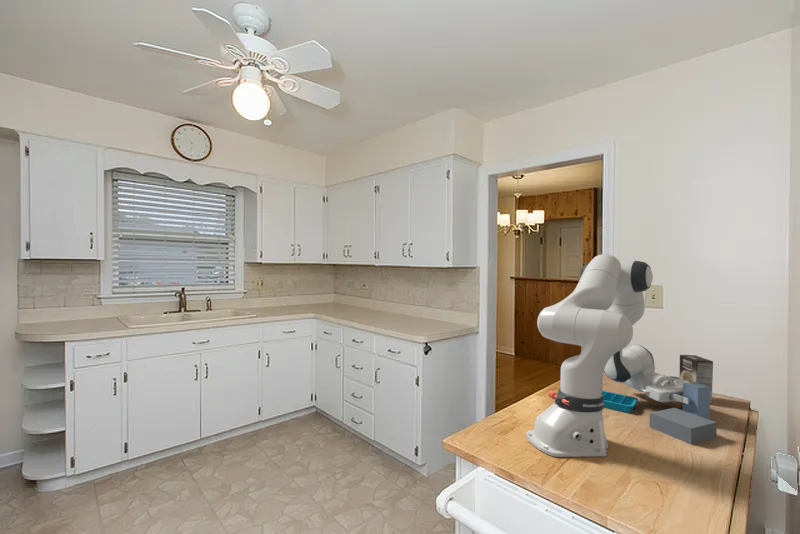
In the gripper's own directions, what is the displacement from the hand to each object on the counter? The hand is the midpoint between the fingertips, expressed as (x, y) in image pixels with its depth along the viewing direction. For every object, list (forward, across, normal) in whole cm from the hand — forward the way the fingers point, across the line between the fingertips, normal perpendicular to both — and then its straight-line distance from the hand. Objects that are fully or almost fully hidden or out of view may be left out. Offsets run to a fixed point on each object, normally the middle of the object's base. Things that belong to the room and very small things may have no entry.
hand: (698, 400), depth 122 cm
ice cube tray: (-21, -18, +8) cm, 29 cm away
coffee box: (-17, +20, +7) cm, 27 cm away
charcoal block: (+5, -13, +7) cm, 16 cm away
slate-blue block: (-1, 0, +7) cm, 7 cm away
